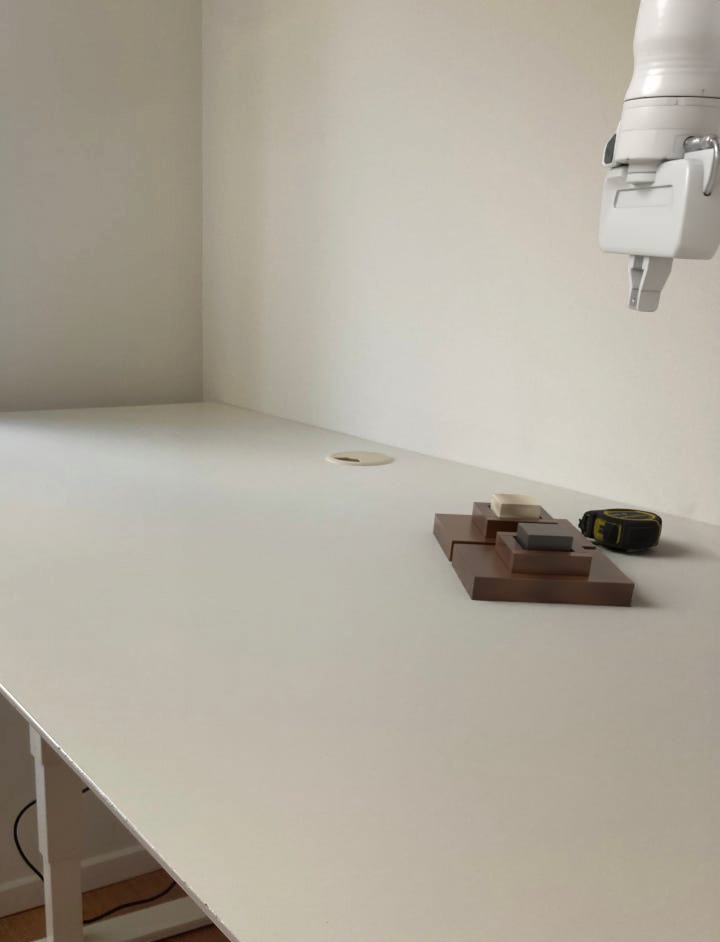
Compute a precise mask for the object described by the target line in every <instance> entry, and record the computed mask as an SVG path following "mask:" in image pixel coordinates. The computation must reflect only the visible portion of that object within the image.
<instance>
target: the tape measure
mask: <svg viewBox="0 0 720 942" xmlns="http://www.w3.org/2000/svg"><path fill="white" fill-rule="evenodd" d="M662 519H663V518H662V517H661V516H660V515H658V514H656V513H655V512H651V511H648V510H647V511H646V510H641V509H634V508H605V509H592V510H591V509H590V510H587V511H585V512H584V513H583V515H582V517H581V518H580V517H579V518H578V524H577V527H578V529H580V532H581V533H582V534H583V535H584V536H585V537H586V538H587V539H589V540H590V539H591V540H595V541H596V542H597V543H598V544H600V545H603V546H605V547H609V548H614V549H620V550H624V551H626V553H627V552H628V553H632V552H641V551H644V550H650V549H653V548H655V547H657V546H658V544H659V542H660V539H661V535H662V528H663V520H662Z"/></svg>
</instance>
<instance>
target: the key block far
mask: <svg viewBox="0 0 720 942" xmlns="http://www.w3.org/2000/svg"><path fill="white" fill-rule="evenodd" d="M490 508H491V502H484V501H473V504H472V510H471V511H472V512H471V514H457V513H434V521H433V527H432V534H433V536H434V537H435V539H436V541H437V543H438V544H439V546H440V548H441V549H442V552H443V553H444V555H445V557H446V558H447V560H448V562H449V563H452V556H453V548H454V544H474V545H495V543H496V536H497V532H517V528H518V523H536V524H559V525H562V526H563V527H564V528H565V529H566V530H567V531H568V532H569V533H570V534H571V535H572V536H573V539H575V540H576V541H577V542H578V543H579V544H580V545H581V546H582V547H583V548H584V549H589V550H597V547H596V545H595V544H594V543H593V542H591V540H590V539H589V538H587V537H585V536H584V535H583V534H582V533H581V530H579V528H577V527H576V526H575V525H574V524H573V523H572V522H570V520H569V519H567V518H554V517H552V516H551V514H550V513H549V512H548V511H547V510H546V509H545V508H544V507H543V506H541V510H540V517H539V519H530V518H507V517H497V516H496V515H495V514H494V513H493V512H492V510H491V509H490Z"/></svg>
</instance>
